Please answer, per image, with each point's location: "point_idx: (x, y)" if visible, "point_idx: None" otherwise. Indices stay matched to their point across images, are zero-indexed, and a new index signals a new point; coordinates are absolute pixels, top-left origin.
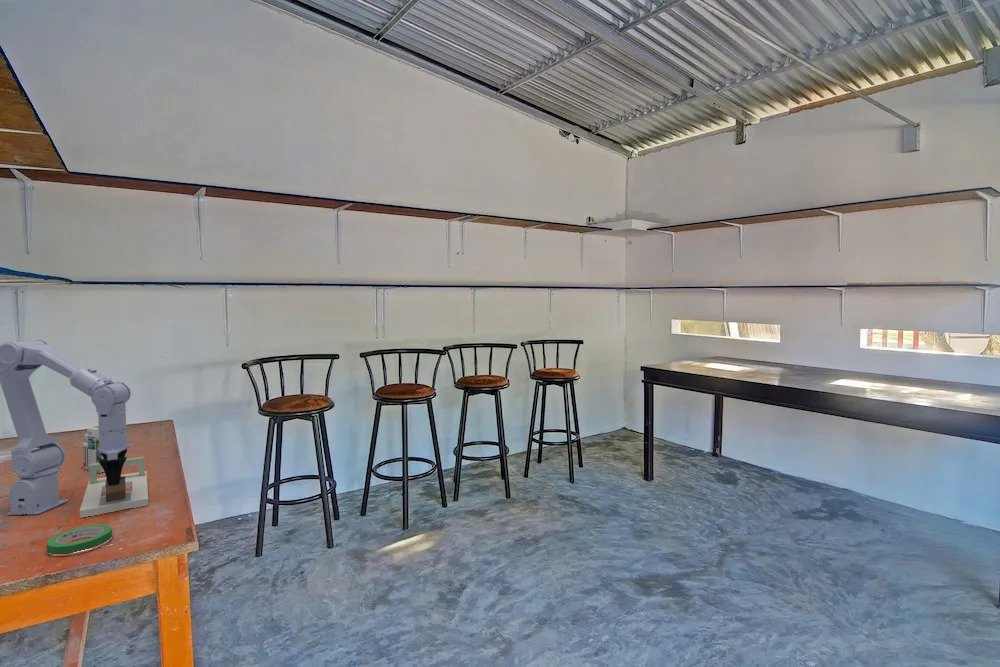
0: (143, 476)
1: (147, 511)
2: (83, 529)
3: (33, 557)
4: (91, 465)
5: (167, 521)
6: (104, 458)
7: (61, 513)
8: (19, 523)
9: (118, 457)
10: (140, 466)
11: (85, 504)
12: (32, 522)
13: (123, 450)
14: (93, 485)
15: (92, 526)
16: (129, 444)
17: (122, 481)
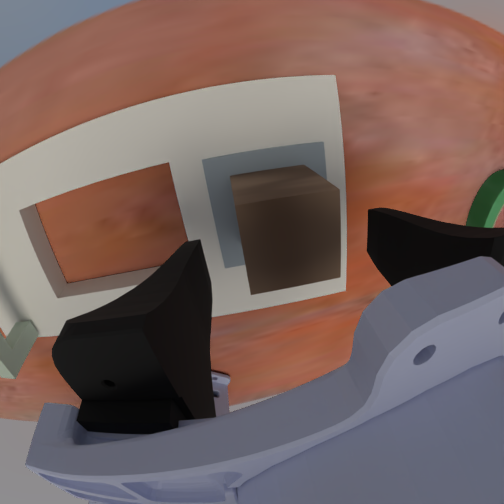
0: None
1: (383, 83)
2: None
3: None
4: (11, 373)
5: (477, 54)
6: (214, 408)
7: (245, 335)
8: (278, 383)
9: (186, 336)
10: None
11: (278, 295)
12: (288, 366)
13: (161, 357)
14: (50, 322)
15: (493, 219)
16: (476, 340)
17: (337, 198)
